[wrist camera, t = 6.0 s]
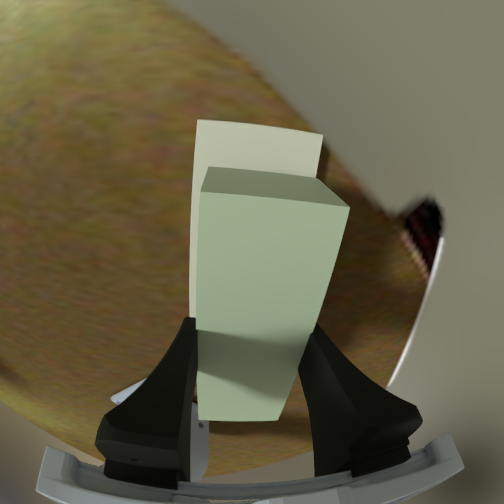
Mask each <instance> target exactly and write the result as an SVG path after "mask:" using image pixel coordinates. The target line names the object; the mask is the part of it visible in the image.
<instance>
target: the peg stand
mask: <svg viewBox="0 0 504 504" xmlns="http://www.w3.org/2000/svg"><path fill="white" fill-rule="evenodd" d="M322 140H323V135H321V134H317V133H312V132H306V131H300V130H294V129H288V128H281V127H274V126H267V125H259V124H250V123H241V122H230V121H218V120H203V119H198V121H197V131H196V143H195V155H194V169H193V185H192V204H191V228H190V278H189V300H190V317H195V318H196V274H197V242H198V220H199V202H200V191H201V187H202V184H203V181H204V178H205V175H206V172H207V169H208V166H211V167H224V168H236V169H247V170H257V171H266V172H274V173H283V174H290V175H298V176H305V177H312V178H316V173H317V168H318V162H319V157H320V151H321V146H322Z"/></svg>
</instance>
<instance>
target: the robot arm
mask: <svg viewBox="0 0 504 504" xmlns="http://www.w3.org/2000/svg"><path fill="white" fill-rule="evenodd" d="M197 371H198V329H196V318H195V317H185V318H184V320H183V323H182V325H181V327H180V330H179V332H178V334H177V335H176V337H175V339H174V341H173V342H172V344H171V346H170V348H169V349H168V351H167V352H166V354H165V355H164V357H163V358H162V360H161V361H160V362H159V364H158V365H157V366H156V368H155V369H154V370H153V371H152V373H151V374H150V375H149V376H148V377H147V378H145V379H144V380H142V381H140V382H138V383H136V384H134V385H132V386H130V387H129V388H127V389H125V390H123V391H121V392H119V393H117V394H115V395H113V396H112V397H111V400H112V401H113V402H115V403H116V404H118V405H117V406H116V407H115V408H113V409H112V410H111V411H109V412H108V413H106V414H105V415H104V417H103V419H102V421H101V423H100V426H99V428H98V431H97V436H96V441H95V446H96V447H97V449H98V450H99V451H100V452H101V453H102V455H103V456H104V457H105V458H106V461H105V463H104V464H103V465H101V466H99V467H98V466H95V465H91V464H88V463H84V462H81V461H79V460H78V459H77V458H76V457H75V456H74V455H72V454H70V453H67V452H65V451H62V450H59V449H56V448H54V447H51V446H46V450H45V453H44V457H43V461H42V465H41V469H40V473H39V477H38V482H37V487H36V491H37V492H38V493H40V494H42V495H44V496H46V497H47V498H49V499H51V500H53V501H55V502H58V503H59V504H397V503H399V502H401V501H404V500H406V499H408V498H411V497H413V496H415V495H417V494H420V493H421V492H424V491H426V490H428V489H430V488H432V487H434V486H436V485H438V484H439V483H441V482H443V481H444V480H446V479H448V478H449V477H451V476H453V475H454V474H456V473H457V472H459V471H460V470H462V469H463V468H464V465H463V462H462V460H461V458H460V455H459V453H458V451H457V448H456V446H455V444H454V442H453V440H452V437H451V435H450V434H449V433H448V434H445V435H443V436H441V437H439V438H436V439H434V440H433V441H431V442H430V443H428V444H427V445H426V446H425V447H424V448H422V449H419V450H416V451H413V452H411V453H410V452H409V450H408V447H407V445H409V440H408V437H409V436H410V435H411V434H413V433H414V432H415V431H416V430H417V429H418V428H419V427H420V426H421V424H422V422H423V420H422V417H421V415H420V413H419V411H418V409H417V407H416V406H415V405H413V404H411V403H409V402H407V401H405V400H402V399H400V398H398V397H397V396H395V395H393V394H392V393H390V392H388V391H387V390H385V389H383V388H382V387H381V386H379V385H378V384H376V383H375V382H373V381H372V380H371V379H369V378H368V377H367V376H366V375H365V374H363V373H362V372H361V371H360V370H359V369H358V368H357V367H355V366H354V365H353V364H352V363H351V362H350V361H349V360H348V359H347V358H346V357H345V356H344V354H343V353H342V352H341V351H340V350H339V349H338V348H337V347H336V346H335V344H334V343H333V342H332V341H331V340H330V338H329V337H328V336H327V335H326V334H325V332H324V331H323V330H322V329H321V328H320V326H319V325H318V324H317V323H316V324H315V327H314V330H313V333H310V336H309V339H308V342H307V345H306V347H305V350H304V353H303V355H302V358H301V361H300V364H299V366H298V373H299V376H300V380H301V384H302V387H303V391H304V395H305V398H306V402H307V406H308V410H309V416H310V423H311V431H312V439H313V451H314V467H315V469H314V470H315V477H313V478H306V479H300V480H291V481H281V482H268V483H248V484H215V483H214V484H213V483H195V482H196V481H198V480H200V479H201V478H202V477H203V475H204V474H205V472H206V469H207V467H208V462H209V420H199V418H198V404H196V403H194V402H193V396H194V390H195V384H196V377H197ZM207 499H212V500H213V499H214V500H216V499H217V500H242V499H243V500H245V499H259V500H255V501H244V502H229V503H228V502H227V503H210V501H209V500H207Z"/></svg>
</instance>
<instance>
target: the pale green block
mask: <svg viewBox="0 0 504 504" xmlns="http://www.w3.org/2000/svg"><path fill="white" fill-rule="evenodd" d="M349 210H350V207H349V206H348V205H347V204H346V203H345V202H344V201H342V200H341V199H340V198H339V197H338V196H337V195H336V194H335V193H334V192H332V191H331V190H330V189H329V188H328V187H327V186H326V185H324V184H323V183H322V182H321V181H320V180H319V179H317V178H312V177H305V176H298V175H290V174H283V173H274V172H266V171H257V170H247V169H236V168H224V167H211V166H208V169H207V172H206V175H205V178H204V181H203V184H202V187H201V191H200V202H199V220H198V242H197V274H196V329H198V371H197V398H198V418H199V420H212V421H275V420H278V419H279V416H280V414H281V412H282V409H283V407H284V405H285V402H286V400H287V398H288V395H289V393H290V390H291V388H292V385H293V383H294V380H295V378H296V375H297V373H298V366H299V364H300V361H301V358H302V355H303V353H304V350H305V347H306V345H307V342H308V339H309V336H310V333H313V330H314V327H315V324H316V321H317V318H318V315H319V312H320V309H321V306H322V303H323V300H324V297H325V294H326V291H327V288H328V285H329V282H330V278H331V275H332V272H333V268H334V265H335V262H336V258H337V255H338V251H339V248H340V244H341V240H342V237H343V233H344V229H345V226H346V222H347V218H348V214H349Z"/></svg>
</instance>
